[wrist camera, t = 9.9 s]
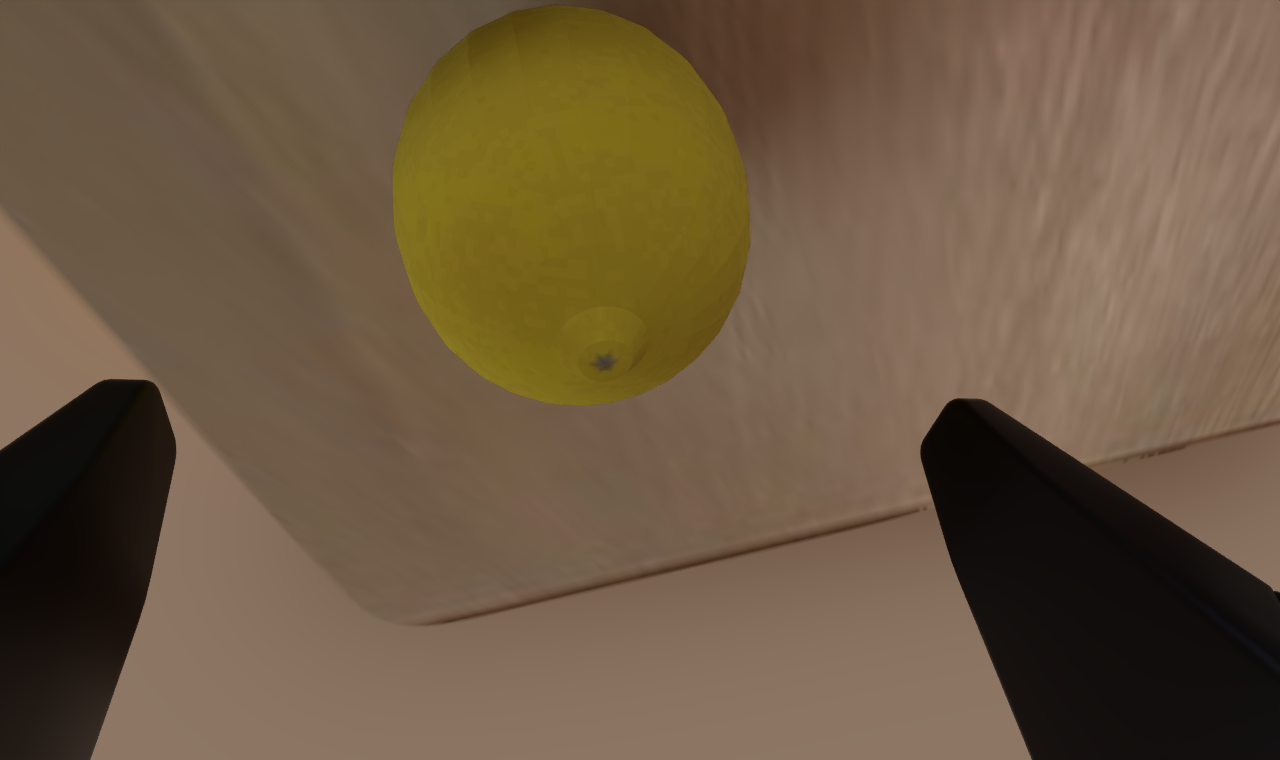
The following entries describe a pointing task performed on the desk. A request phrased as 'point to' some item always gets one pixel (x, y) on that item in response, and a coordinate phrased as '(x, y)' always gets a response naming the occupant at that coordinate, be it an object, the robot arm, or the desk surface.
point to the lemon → (570, 206)
